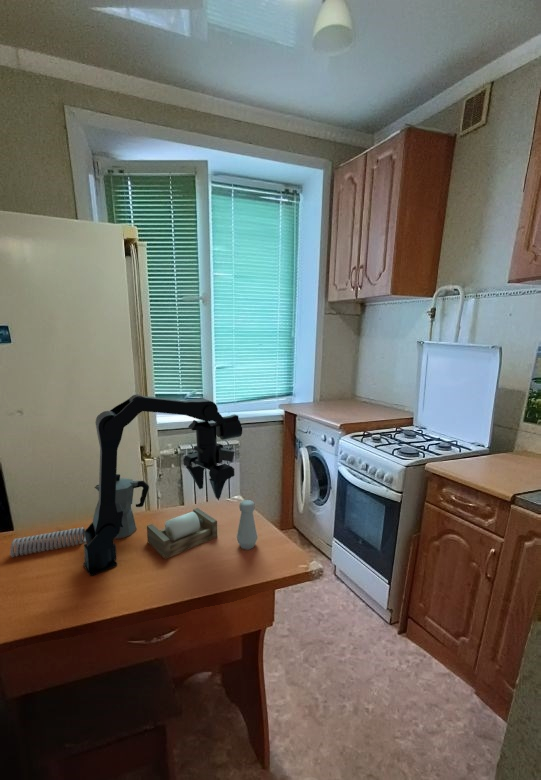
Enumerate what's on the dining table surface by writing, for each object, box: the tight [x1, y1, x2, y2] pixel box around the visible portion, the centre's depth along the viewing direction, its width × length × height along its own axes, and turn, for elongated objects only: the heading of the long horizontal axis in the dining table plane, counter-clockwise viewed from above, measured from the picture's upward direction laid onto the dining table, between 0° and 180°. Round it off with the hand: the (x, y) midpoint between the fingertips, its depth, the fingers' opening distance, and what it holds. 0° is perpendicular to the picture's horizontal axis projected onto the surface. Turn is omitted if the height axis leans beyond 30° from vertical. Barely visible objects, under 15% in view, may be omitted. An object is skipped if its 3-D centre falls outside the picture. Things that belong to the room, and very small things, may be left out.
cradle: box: [146, 507, 218, 560], centre depth 106 cm, size 17×11×5 cm, turn 132°
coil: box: [9, 526, 86, 558], centre depth 101 cm, size 5×5×18 cm
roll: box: [164, 511, 200, 542], centre depth 106 cm, size 8×6×6 cm
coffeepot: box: [94, 473, 150, 540], centre depth 110 cm, size 15×9×18 cm, turn 98°
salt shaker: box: [236, 499, 258, 550], centre depth 102 cm, size 6×6×13 cm
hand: (209, 493), depth 108 cm, fingers open, 9 cm apart
